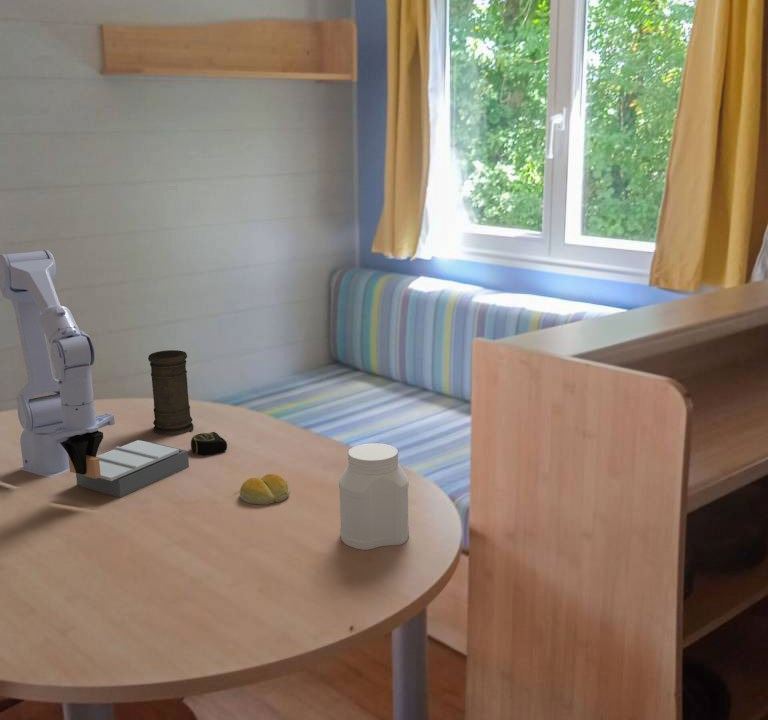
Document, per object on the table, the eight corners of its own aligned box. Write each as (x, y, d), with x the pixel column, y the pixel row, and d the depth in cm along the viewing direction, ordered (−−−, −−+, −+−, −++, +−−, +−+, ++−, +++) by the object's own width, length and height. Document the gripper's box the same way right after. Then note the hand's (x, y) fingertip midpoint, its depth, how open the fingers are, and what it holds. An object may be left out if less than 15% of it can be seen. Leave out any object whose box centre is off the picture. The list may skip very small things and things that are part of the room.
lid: (62, 472, 176) (60, 451, 175) (138, 442, 192) (136, 423, 191) (104, 484, 170) (102, 462, 169) (179, 452, 186) (177, 432, 185)
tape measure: (228, 455, 197) (227, 438, 196) (197, 461, 193) (195, 444, 192) (218, 445, 202) (217, 429, 201) (187, 451, 199) (186, 434, 198)
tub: (77, 487, 180) (75, 468, 179) (146, 459, 195) (145, 440, 194) (121, 500, 174) (119, 480, 173) (189, 469, 188) (187, 450, 187)
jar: (349, 553, 151) (346, 465, 147) (334, 529, 160) (331, 446, 156) (416, 542, 154) (415, 457, 151) (398, 519, 163) (397, 438, 159)
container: (184, 438, 207) (178, 359, 202) (146, 436, 208) (139, 358, 204) (200, 425, 215) (194, 349, 211) (163, 423, 217) (157, 348, 212)
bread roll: (235, 494, 176) (233, 474, 175) (280, 485, 180) (279, 466, 179) (247, 510, 169) (246, 489, 168) (295, 501, 172) (294, 480, 171)
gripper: (59, 415, 162) (67, 488, 165) (123, 394, 174) (129, 463, 177) (33, 409, 165) (41, 481, 169) (97, 389, 177) (103, 456, 181)
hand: (84, 471), depth 173 cm, fingers closed on lid
